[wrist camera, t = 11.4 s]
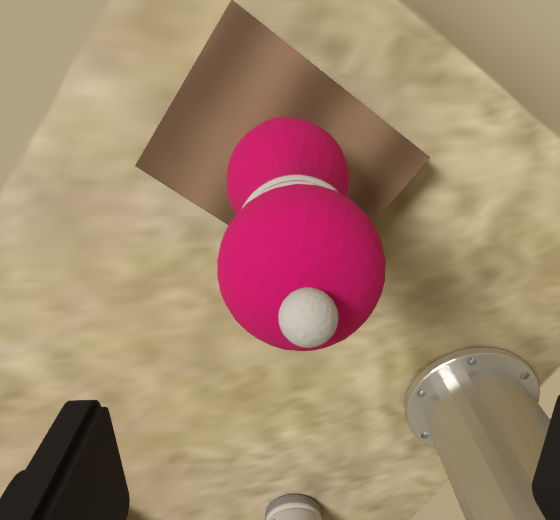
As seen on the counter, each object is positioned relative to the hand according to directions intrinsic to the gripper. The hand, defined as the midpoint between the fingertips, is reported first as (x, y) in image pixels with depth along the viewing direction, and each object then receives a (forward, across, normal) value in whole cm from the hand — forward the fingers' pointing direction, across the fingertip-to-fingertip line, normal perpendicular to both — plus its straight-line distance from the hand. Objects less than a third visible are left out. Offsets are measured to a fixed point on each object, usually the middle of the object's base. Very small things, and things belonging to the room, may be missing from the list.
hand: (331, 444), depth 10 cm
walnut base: (+26, +1, -1) cm, 27 cm away
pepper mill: (+24, 0, -1) cm, 24 cm away
